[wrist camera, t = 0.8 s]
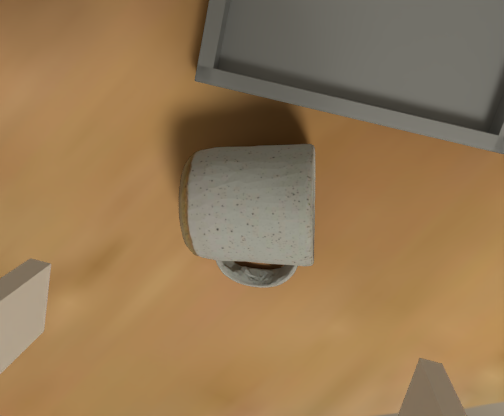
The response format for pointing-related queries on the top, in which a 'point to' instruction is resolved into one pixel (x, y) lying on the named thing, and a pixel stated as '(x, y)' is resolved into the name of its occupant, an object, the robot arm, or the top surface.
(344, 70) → the tray
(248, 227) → the ceramic mug
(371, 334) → the top surface
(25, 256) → the top surface
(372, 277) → the top surface
